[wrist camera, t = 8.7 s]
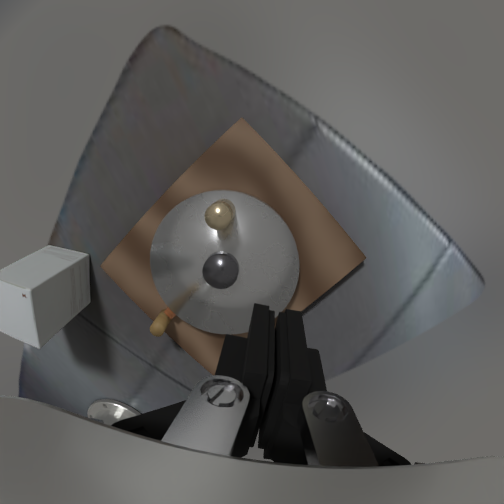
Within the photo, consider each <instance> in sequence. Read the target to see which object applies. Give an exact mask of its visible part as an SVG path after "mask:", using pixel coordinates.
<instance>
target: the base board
mask: <svg viewBox="0 0 504 504" xmlns="http://www.w3.org/2000/svg"><path fill="white" fill-rule="evenodd" d="M212 190H234V191H239V192H243V193H247V194H249V195H252V196H254V197H257V198H258V199H260V200H262V201H264V202H265V203H267V204H268V205H269V206H271V207H272V208H273V209H274V210H275V211H276V212H277V213H278V214H279V215H280V216H281V217H282V218H283V220H284V221H285V222H286V223H287V225H288V227H289V229H290V230H291V232H292V235H293V237H294V239H295V242H296V246H297V250H298V255H299V277H298V283H297V286H296V289H295V292H294V294H293V296H292V298H291V300H290V301H289V303H288V304H287V306H286V307H285V309H284V310H283V311H282V312H285V310H286V309H290V310H296V311H302V310H304V309H305V308H306V307H307V306H309V305H310V304H311V303H312V302H314V301H315V300H316V299H317V298H319V297H320V296H321V295H322V294H324V293H325V292H326V291H327V290H329V289H330V288H331V287H332V286H333V285H335V284H336V283H337V282H338V281H340V280H341V279H342V278H343V277H344V276H346V275H347V274H348V273H349V272H350V271H352V270H353V269H354V268H355V267H356V266H358V265H359V264H360V263H361V262H362V261H363V260H365V259H366V257H365V255H364V254H363V253H362V252H361V250H360V249H359V248H358V247H357V245H356V244H355V243H354V242H353V240H352V239H351V238H350V237H349V236H348V234H347V233H346V232H345V231H344V230H343V228H342V227H341V226H340V225H339V223H338V222H337V221H336V220H335V219H334V218H333V216H332V215H331V214H330V213H329V212H328V210H327V209H326V208H325V207H324V206H323V205H322V203H321V202H320V201H319V200H318V199H317V198H316V197H315V195H314V194H313V193H312V192H311V191H310V190H309V189H308V187H307V186H306V185H305V184H304V183H303V182H302V181H301V180H300V178H299V177H298V176H297V175H296V174H295V173H294V172H293V171H292V170H291V168H290V167H289V166H288V165H287V164H286V163H285V162H284V161H283V160H282V159H281V158H280V157H279V155H278V154H277V153H276V152H275V151H274V150H273V149H272V148H271V147H270V146H269V145H268V144H267V143H266V142H265V141H264V140H263V138H262V137H261V136H260V135H259V134H258V133H257V132H256V131H255V130H254V129H253V128H252V127H251V126H250V125H249V124H248V123H247V122H246V121H245V120H244V119H243V118H241V119H239V120H238V121H237V122H236V123H235V124H234V125H233V126H232V127H231V128H230V129H229V130H228V131H226V132H225V133H224V134H223V135H222V136H221V137H220V138H219V139H218V140H217V141H216V142H215V143H214V144H213V145H212V146H211V147H210V148H209V149H208V150H206V151H205V152H204V153H203V154H202V155H201V156H200V157H199V158H198V159H197V160H196V161H195V162H194V163H193V164H192V165H191V166H190V167H189V168H188V169H187V170H186V171H185V172H184V173H183V174H182V175H181V176H180V177H179V178H178V179H177V181H176V182H175V183H174V184H173V185H172V186H171V187H170V188H169V189H168V190H167V191H166V192H165V193H164V194H163V195H162V196H161V197H160V198H159V199H158V201H157V202H156V203H155V204H154V205H153V206H152V207H151V208H150V209H149V210H148V211H147V212H146V214H145V215H144V216H143V217H142V218H141V219H140V220H139V221H138V222H137V224H136V225H135V226H134V227H133V228H132V229H131V230H130V232H129V233H128V234H127V235H126V236H125V237H124V238H123V240H122V241H121V242H120V243H119V244H118V245H117V247H116V248H115V249H114V250H113V251H112V252H111V254H110V255H109V256H108V257H107V258H106V260H105V261H104V262H103V263H102V265H101V268H102V269H103V270H104V271H105V272H106V273H107V274H108V275H109V276H110V277H111V278H112V279H113V280H114V282H115V283H116V284H117V285H118V286H119V287H120V288H121V289H122V290H123V291H124V292H125V293H126V294H127V295H128V296H129V297H130V298H131V299H132V300H133V301H134V302H135V303H136V304H137V305H138V306H139V307H140V308H141V309H142V310H143V311H144V312H145V313H146V314H147V315H148V316H149V317H150V318H151V319H152V320H153V321H154V322H153V323H152V325H151V326H150V332H151V333H152V334H153V335H154V336H161V335H162V334H163V333H164V332H165V333H167V334H168V335H169V336H170V337H171V338H172V339H173V340H174V341H175V342H176V343H177V344H178V345H179V346H181V347H182V348H183V349H184V350H185V351H186V352H187V353H188V354H189V355H191V356H192V357H193V358H194V359H195V360H196V361H197V362H198V363H200V364H201V365H202V366H203V367H204V368H205V369H206V370H208V371H209V372H210V373H211V374H212V375H215V372H216V369H217V365H218V361H219V357H220V354H221V350H222V346H223V343H224V339H225V335H226V334H216V333H211V332H207V331H203V330H201V329H198V328H196V327H194V326H192V325H190V324H188V323H186V322H185V321H183V320H182V319H181V318H179V317H178V316H177V315H176V316H174V317H173V318H172V319H170V318H169V317H168V316H167V315H166V314H165V313H164V311H165V309H166V308H167V307H168V306H167V305H166V304H165V302H164V301H163V299H162V298H161V296H160V295H159V293H158V291H157V289H156V286H155V284H154V281H153V277H152V273H151V267H150V251H151V245H152V241H153V238H154V235H155V232H156V230H157V228H158V226H159V225H160V223H161V221H162V220H163V218H164V217H165V216H166V215H167V214H168V213H169V212H170V211H171V210H172V209H173V208H174V207H175V206H176V205H178V204H179V203H181V202H182V201H184V200H186V199H188V198H190V197H192V196H194V195H196V194H199V193H203V192H206V191H212ZM277 318H278V316H277V317H276V318H275V326H276V322H277ZM231 335H234V336H240V337H245V338H247V336H248V332H246V333H241V334H231Z"/></svg>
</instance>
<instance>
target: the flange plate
mask: <svg viewBox="0 0 504 504" xmlns="http://www.w3.org/2000/svg"><path fill="white" fill-rule="evenodd" d="M150 267H151V273H152V277H153V281H154V284H155V286H156V289H157V291H158V293H159V295H160V296H161V298H162V299H163V301H164V302H165V304H166V305H167V306H168V307H167V308H166V309H165V311H164V313H165V314H166V315H167V316H168V317H169V318H170V319H172V318H173V317H174V316H176V315H177V316H178V317H179V318H181V319H182V320H183V321H185V322H186V323H188V324H190V325H192V326H194V327H196V328H198V329H201V330H203V331H207V332H211V333H216V334H229V335H231V334H241V333H246V332H248V331H249V326H250V321H251V316H252V311H253V307H254V303H257V304H262V305H267V306H269V310H272V311H275V318H276V317H277V316H278V314H279V312H282V311H283V310H284V309H285V307H286V306H287V304H288V303H289V301H290V300H291V298H292V296H293V294H294V292H295V289H296V286H297V283H298V277H299V255H298V250H297V246H296V242H295V239H294V237H293V235H292V232H291V230H290V229H289V227H288V225H287V223H286V222H285V221H284V220H283V218H282V217H281V216H280V215H279V214H278V213H277V212H276V211H275V210H274V209H273V208H272V207H271V206H269V205H268V204H267V203H265V202H264V201H262V200H260V199H258V198H257V197H254V196H252V195H249V194H247V193H243V192H239V191H234V190H212V191H206V192H203V193H199V194H196V195H194V196H192V197H190V198H188V199H186V200H184V201H182V202H181V203H179V204H178V205H176V206H175V207H174V208H173V209H172V210H171V211H170V212H169V213H168V214H167V215H166V216H165V217H164V218H163V220H162V221H161V223H160V225H159V226H158V228H157V230H156V232H155V235H154V238H153V241H152V245H151V251H150Z"/></svg>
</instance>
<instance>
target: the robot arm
mask: <svg viewBox="0 0 504 504" xmlns="http://www.w3.org/2000/svg"><path fill="white" fill-rule="evenodd" d="M258 430H259V441H258V448H261V449H264V459H271V460H273V461H274V462H268V461H260V460H253V459H246V458H241V457H243V456H245V455H247V453H248V450H249V447H253V446H254V443H255V440H256V437H257V434H258ZM0 504H504V457H495V456H490V457H477V458H470V459H462V460H454V461H444V462H436V463H417V462H415V464H414V465H411V463H410V462H409V461H408V460H406V459H405V458H404V457H402V456H401V455H399V454H397V453H396V452H394V451H392V450H391V449H389V448H388V447H386V446H385V445H383V444H381V443H380V442H378V441H377V440H375V439H374V438H372V437H370V436H369V435H367V434H366V433H364V432H363V430H362V428H361V425H360V423H359V421H358V419H357V417H356V415H355V413H354V411H353V408H352V406H351V405H350V404H349V402H348V401H347V400H346V399H344V398H343V397H341V396H339V395H338V394H335V393H332V392H328V391H327V390H326V384H325V379H324V374H323V369H322V364H321V359H320V354H319V351H318V350H317V349H311V348H307V344H306V338H305V331H304V325H303V319H302V313H301V311H296V310H290V309H286V310H285V312H279V314H278V318H277V322H276V326H275V311H272V310H269V306H267V305H262V304H257V303H254V307H253V311H252V316H251V321H250V326H249V331H248V336H247V338H245V337H240V336H234V335H229V334H226V335H225V339H224V343H223V346H222V350H221V354H220V357H219V361H218V365H217V369H216V372H215V375H213V376H208V377H205V378H203V379H201V380H200V381H199V382H198V383H197V384H196V385H195V387H194V388H193V390H192V392H191V393H190V395H189V397H188V398H187V400H185V401H182V402H179V403H176V404H173V405H170V406H167V407H164V408H160V409H157V410H154V411H151V412H147V413H144V414H140V413H139V412H138V411H136V410H135V409H134V408H132V407H130V406H128V405H126V404H124V403H121V402H119V401H115V400H110V399H100V400H96V401H95V402H93V403H92V404H91V406H90V407H89V409H88V417H84V416H81V415H78V414H75V413H73V412H70V411H67V410H65V409H61V408H58V407H55V406H52V405H49V404H46V403H42V402H38V401H34V400H30V399H26V398H19V397H12V396H2V395H0Z"/></svg>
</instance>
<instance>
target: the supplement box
mask: <svg viewBox="0 0 504 504" xmlns="http://www.w3.org/2000/svg"><path fill="white" fill-rule="evenodd" d="M90 302H91V300H90V275H89V254H86V253H82V252H77V251H73V250H69V249H64V248H60V247H56V246H51V245H48V246H46V247H44V248H42V249H40V250H38V251H36V252H34V253H32V254H30V255H28V256H26V257H24V258H22V259H20V260H18V261H17V262H14V263H13V264H11V265H9V266H7V267H5V268H3V269H1V270H0V331H1V332H3V333H5V334H7V335H9V336H11V337H13V338H16V339H18V340H20V341H22V342H25V343H27V344H29V345H31V346H34V347H36V348H38V349H41V348H42V347H43V346H44V345H45V344H46V343H47V342H48V341H49V340H50V339H51V338H52V337H53V336H54V335H55V334H56V333H57V332H58V331H60V330H61V329H62V328H63V327H64V326H65V325H66V324H67V323H68V322H69V321H70V320H72V319H73V318H74V317H75V316H76V315H77V314H78V313H79V312H80V311H81V310H83V309H84V308H85V307H86V306H87V305H88V304H89V303H90Z"/></svg>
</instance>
